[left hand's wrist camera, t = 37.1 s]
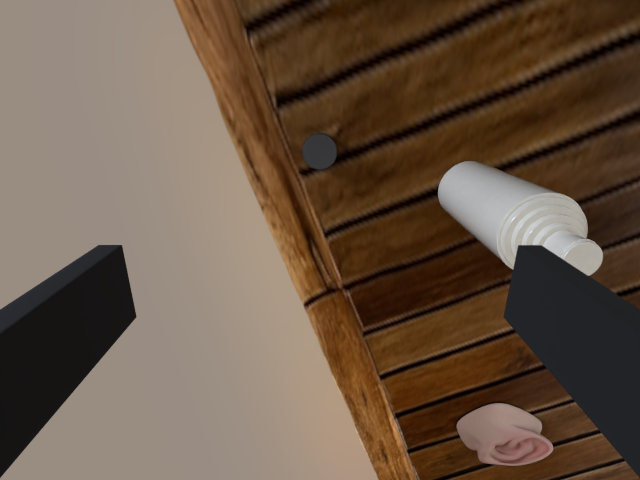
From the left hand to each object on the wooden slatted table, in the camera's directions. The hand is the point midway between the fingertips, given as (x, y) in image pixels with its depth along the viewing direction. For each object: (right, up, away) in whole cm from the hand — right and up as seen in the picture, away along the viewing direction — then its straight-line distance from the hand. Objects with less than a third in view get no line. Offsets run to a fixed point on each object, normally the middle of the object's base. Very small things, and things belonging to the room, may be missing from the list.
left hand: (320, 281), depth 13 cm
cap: (0, +12, +32) cm, 34 cm away
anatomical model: (+30, -30, +50) cm, 65 cm away
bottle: (+19, +8, +35) cm, 41 cm away
